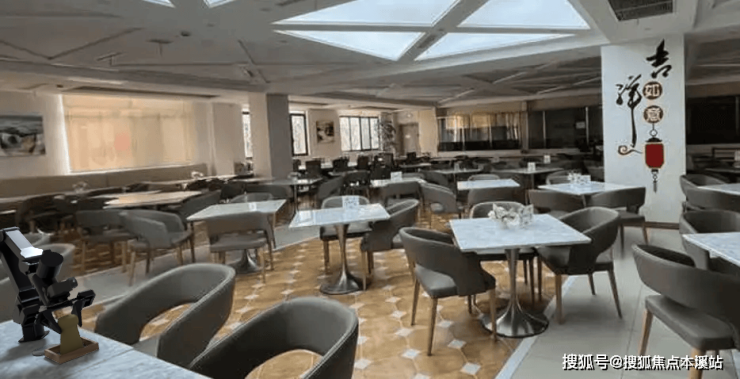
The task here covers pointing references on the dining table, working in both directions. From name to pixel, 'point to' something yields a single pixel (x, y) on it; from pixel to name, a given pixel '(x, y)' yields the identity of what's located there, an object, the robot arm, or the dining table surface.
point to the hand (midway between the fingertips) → (71, 329)
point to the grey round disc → (42, 350)
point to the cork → (69, 334)
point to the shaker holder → (69, 356)
